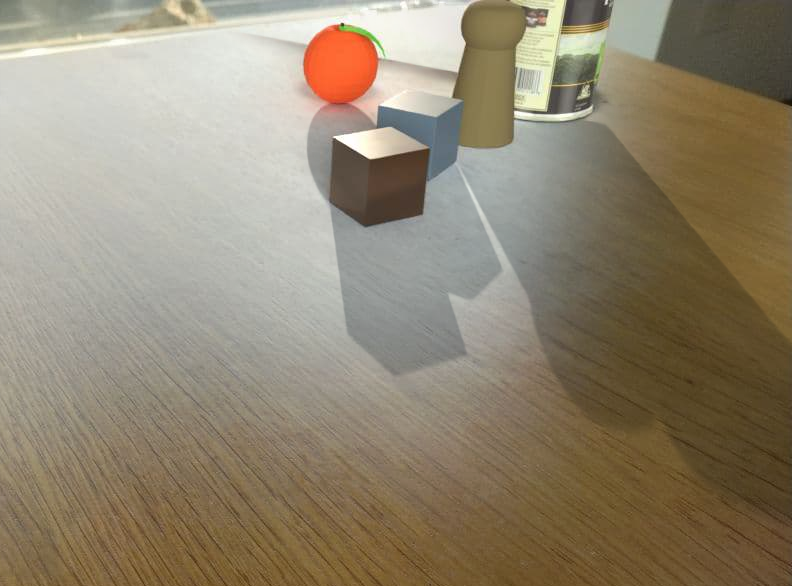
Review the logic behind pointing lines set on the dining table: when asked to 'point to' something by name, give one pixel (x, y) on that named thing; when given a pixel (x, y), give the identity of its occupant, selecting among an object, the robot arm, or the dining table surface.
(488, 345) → the dining table surface
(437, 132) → the slate block
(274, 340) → the dining table surface
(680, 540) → the dining table surface
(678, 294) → the dining table surface
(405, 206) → the copper block
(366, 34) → the clementine
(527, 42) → the coffee can
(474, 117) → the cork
